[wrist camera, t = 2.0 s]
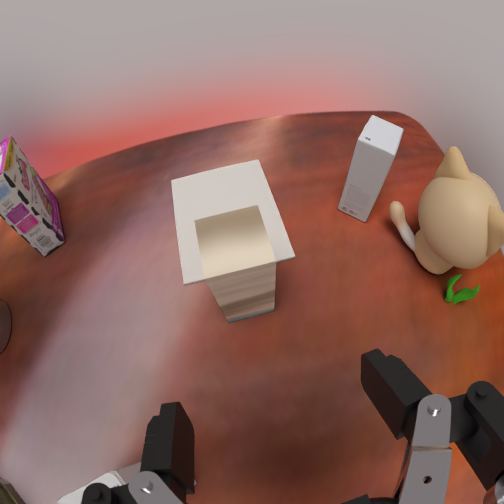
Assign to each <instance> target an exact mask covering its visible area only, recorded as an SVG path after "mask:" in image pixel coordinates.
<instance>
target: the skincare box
mask: <svg viewBox="0 0 504 504" xmlns="http://www.w3.org/2000/svg"><path fill="white" fill-rule="evenodd" d="M402 133H403V128H400V127H398V126H396V125H394V124H392V123H389V122H387V121H385V120H383V119H380V118H378V117H376V116H374V115H372V116H371V117H370V119H369V121H368V123H367V124H366V125H365V127H364V129H363V131H362V133H361V135H360V136H359V138H358V140H357V144H356V147H355V151H354V154H353V158H352V162H351V165H350V169H349V173H348V176H347V179H346V183H345V186H344V189H343V193H342V196H341V199H340V203H339V206H338V209H339V210H341V211H343V212H345V213H347V214H349V215H351V216H353V217H355V218H357V219H359V220H361V221H363V222H366V221H367V219H368V217H369V214H370V212H371V210H372V208H373V206H374V204H375V202H376V199H377V197H378V195H379V193H380V191H381V188H382V186H383V184H384V182H385V179H386V177H387V175H388V172H389V170H390V167H391V165H392V162H393V160H394V157H395V155H396V152H397V149H398V146H399V143H400V139H401V136H402Z"/></svg>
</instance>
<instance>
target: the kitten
mask: <svg viewBox="0 0 504 504" xmlns="http://www.w3.org/2000/svg"><path fill="white" fill-rule="evenodd" d="M389 213H390V217H391V219H392V221H393V223H394V224H395V225H396V227H397V229H398V231H399V233H400V235H401V237H402V238H403V240H404V242H405V243H406V244H407V245H408V247H409V248H410V249H412V250H413V251H414V252H415V255H416V257H417V259H418V261H419V262H420V264H421V265H422V266H423V267H424V268H425V269H427V270H428V271H430V272H432V273H434V274H443V273H445V272H446V271H448V270H449V269H450V268H452V267H453V266H455V267H458V268H463V269H473V268H476V267H478V266H480V265H481V264H483V263H484V262H485V261H486V260H487V259H488V258H489V256H491V255H493V254H495V253H496V252H497V251H498V250H499V249H500V247H501V246H502V245H503V244H504V213H503V212H502V211H501V208H500V205H499V202H498V199H497V197H496V195H495V194H494V192H493V190H492V189H491V187H490V186H489V185H488V184H487V183H486V182H485V181H484V180H483V179H482V178H480V177H479V176H477V175H476V174H474V173H472V172H469V170H468V167H467V165H466V163H465V161H464V159H463V156H462V154H461V152H460V151H459V149H458V148H457V147H455V146H453V147H450V148H449V149H448V150H447V152H446V154H445V157H444V159H443V161H442V163H441V165H440V166H439V168H438V169H437V171H436V173H435V176H434V179H433V180H432V181H431V182H430V183H429V184H428V185H427V187H426V188H425V190H424V191H423V193H422V195H421V198H420V201H419V206H418V220H419V225H420V228H421V229H420V230H419V231H418V232H417V233H416V234H415V236H414V234H413V232H412V231H411V229H410V227H409V226H408V224H407V223H406V220H405V213H404V208H403V206H402V204H401V203H399V202H397V201H393V202H392V203H391V204H390V206H389ZM462 275H463V274H461V275H456V276H453V277H452V278H450V279H449V280H448V282H447V291H446V297H445V299H444V300H445V301H446V302H448V303H449V302H451V301H452V299H453V302H454V305H455V304H456V303H458V302H460V301H462V300H468V299H471V298H473V297H474V296H475V295H476V294H477V293H478V290H479V285H478V286H477V287H476V288H475V289H474V290H472V289H469V288H464V289H461V290H460V291H459V292H457V293H456V294H455V295H454V296H453V290H452V286H453V285H454V283H455V282H456V281H457V280H458V279H459V278H460V277H461V276H462Z"/></svg>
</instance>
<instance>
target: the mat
mask: <svg viewBox="0 0 504 504" xmlns="http://www.w3.org/2000/svg"><path fill="white" fill-rule="evenodd" d="M171 181H172V192H173V202H174V212H175V221H176V230H177V238H178V246H179V253H180V260H181V267H182V274H183V281H184V285H188V284H192V283H196V282H201V281H205V278H204V272H203V267H202V262H201V256H200V250H199V245H198V239H197V233H196V227H195V221H194V220H198V219H202V218H206V217H210V216H214V215H218V214H222V213H226V212H230V211H234V210H238V209H242V208H247V207H251V206H255V205H258V207H259V210H260V213H261V216H262V219H263V222H264V226H265V229H266V232H267V235H268V238H269V241H270V244H271V247H272V250H273V253H274V256H275V259H276V263H277V262H281V261H285V260H288V259H292V258H295V255H294V252H293V249H292V246H291V244H290V241H289V238H288V236H287V233H286V230H285V227H284V225H283V222H282V219H281V217H280V214H279V211H278V209H277V206H276V203H275V201H274V198H273V196H272V193H271V190H270V188H269V185H268V183H267V180H266V178H265V175H264V172H263V170H262V167H261V165H260V162H259V160H253V161H248V162H244V163H239V164H235V165H230V166H226V167H221V168H217V169H213V170H209V171H205V172H201V173H197V174H193V175H189V176H186V177H182V178H178V179H175V180H171Z"/></svg>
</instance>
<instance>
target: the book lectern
mask: <svg viewBox="0 0 504 504" xmlns="http://www.w3.org/2000/svg"><path fill="white" fill-rule="evenodd" d="M0 504H25V503H24V502H23V500H22V499H21V498H20V496H19V495H18V494H17V492H16V491H15V489H14V488H13V487H12V485H11V484H10V483H8V482H7V481H5V480H3V479H1V478H0Z"/></svg>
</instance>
